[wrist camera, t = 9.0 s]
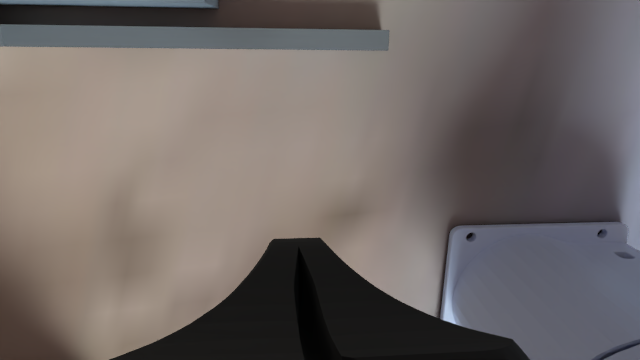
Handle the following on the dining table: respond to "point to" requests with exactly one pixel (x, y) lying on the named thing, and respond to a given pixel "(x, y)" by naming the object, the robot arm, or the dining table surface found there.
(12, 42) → the track
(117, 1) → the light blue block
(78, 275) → the dining table surface
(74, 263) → the dining table surface
